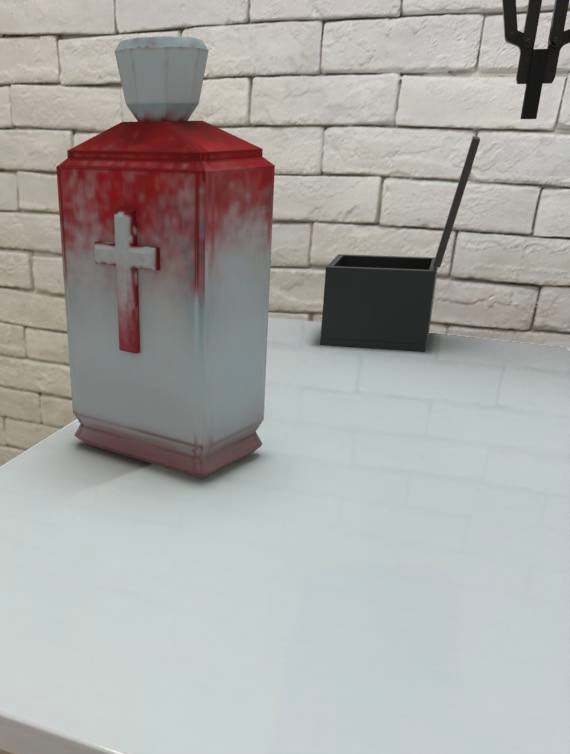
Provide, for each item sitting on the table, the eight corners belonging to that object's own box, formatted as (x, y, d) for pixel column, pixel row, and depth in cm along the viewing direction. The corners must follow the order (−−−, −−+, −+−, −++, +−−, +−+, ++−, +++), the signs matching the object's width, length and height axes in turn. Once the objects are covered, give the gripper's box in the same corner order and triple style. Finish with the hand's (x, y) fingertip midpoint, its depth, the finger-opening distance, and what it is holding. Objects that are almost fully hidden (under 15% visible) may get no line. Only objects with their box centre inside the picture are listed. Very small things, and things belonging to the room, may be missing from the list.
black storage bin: (319, 344, 102) (325, 266, 98) (332, 326, 111) (338, 254, 106) (425, 351, 98) (435, 271, 94) (429, 332, 107) (439, 257, 103)
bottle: (64, 448, 71) (34, 42, 57) (142, 417, 78) (132, 49, 64) (197, 489, 62) (199, 25, 49) (271, 451, 69) (291, 36, 56)
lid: (472, 137, 87) (480, 139, 87) (472, 136, 96) (479, 137, 96) (433, 266, 94) (440, 267, 94) (436, 253, 103) (442, 254, 103)
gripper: (644, -154, 80) (589, 118, 91) (502, -141, 83) (465, 119, 94) (659, -177, 73) (598, 118, 84) (504, -162, 77) (465, 119, 88)
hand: (528, 118), depth 89 cm, fingers closed
